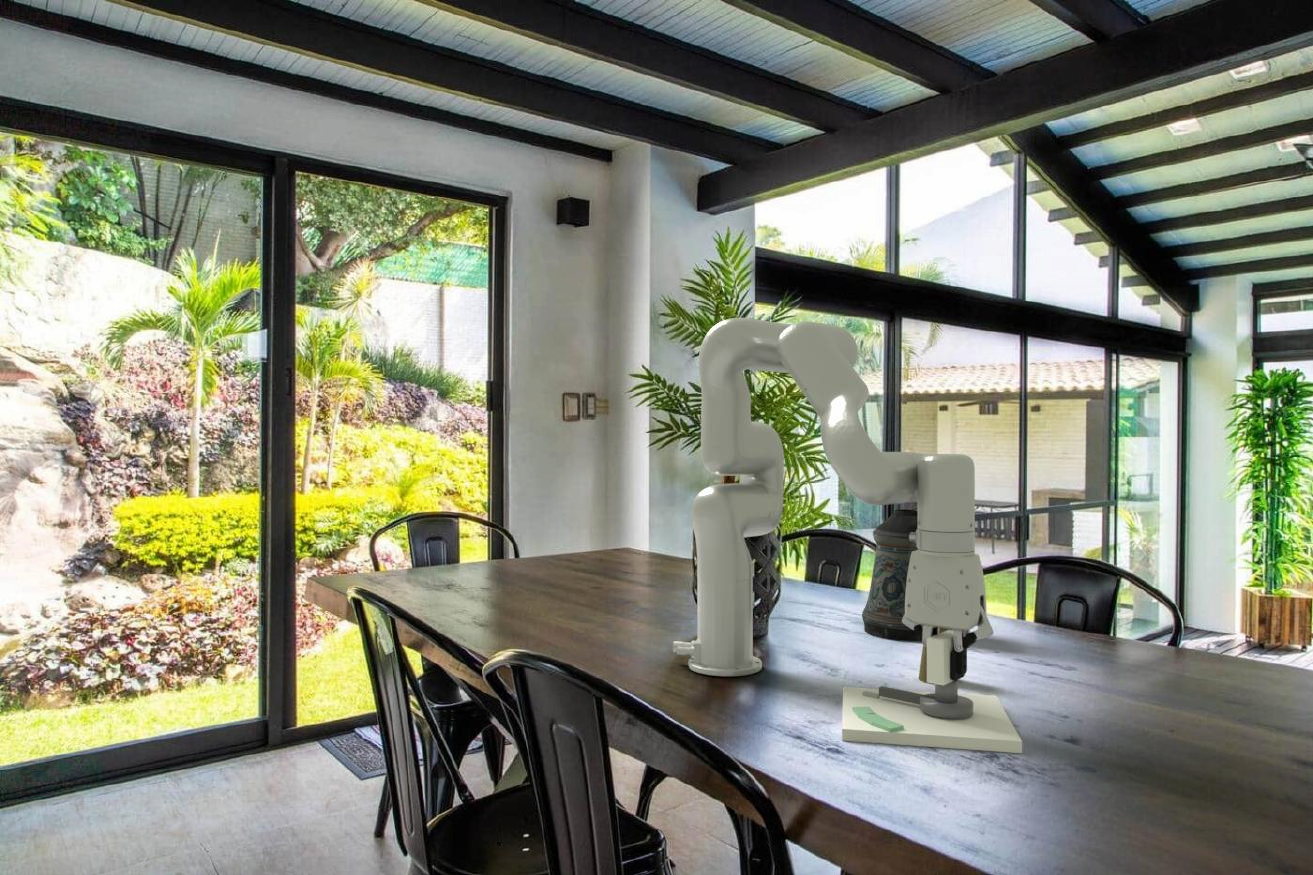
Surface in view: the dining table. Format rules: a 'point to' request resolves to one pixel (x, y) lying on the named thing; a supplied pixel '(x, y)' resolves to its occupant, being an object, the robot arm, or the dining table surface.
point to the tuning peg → (937, 683)
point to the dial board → (926, 723)
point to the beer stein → (891, 578)
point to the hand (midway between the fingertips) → (946, 675)
